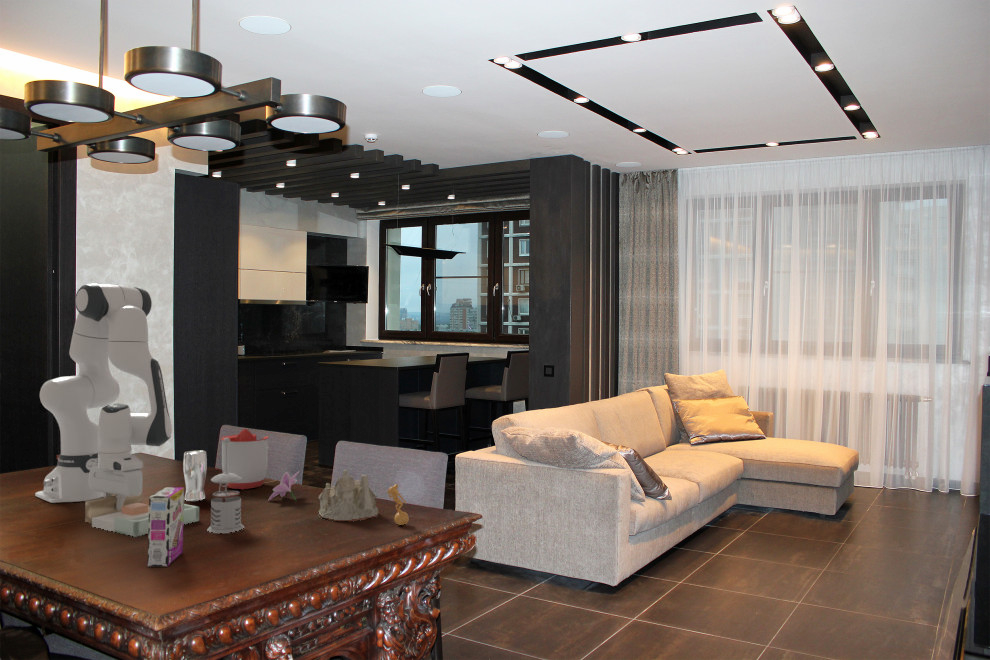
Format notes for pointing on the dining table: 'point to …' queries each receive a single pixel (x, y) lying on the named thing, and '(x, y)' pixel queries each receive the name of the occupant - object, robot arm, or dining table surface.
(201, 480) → the beer glass
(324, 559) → the dining table surface
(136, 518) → the plate
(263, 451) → the citrus juicer
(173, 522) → the candy bar box
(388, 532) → the dining table surface
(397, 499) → the figurine
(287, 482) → the lily
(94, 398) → the robot arm
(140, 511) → the terracotta tile
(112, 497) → the bar
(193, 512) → the box
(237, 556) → the dining table surface
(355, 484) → the castle model
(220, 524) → the french press
